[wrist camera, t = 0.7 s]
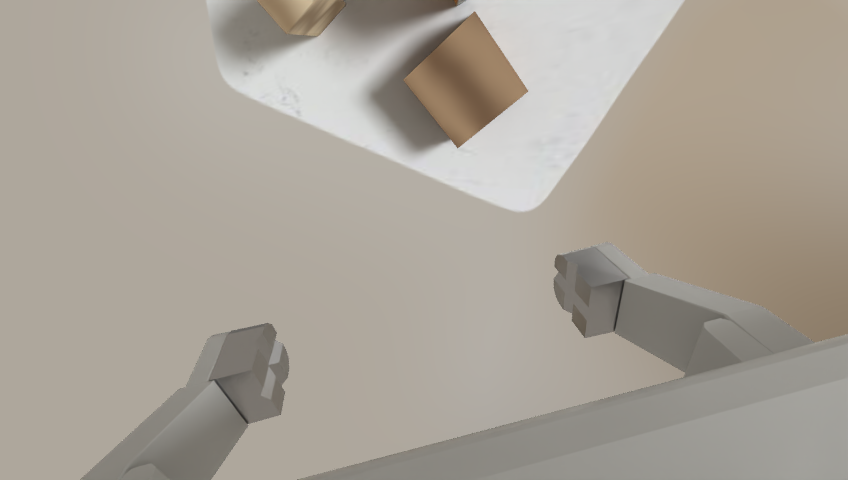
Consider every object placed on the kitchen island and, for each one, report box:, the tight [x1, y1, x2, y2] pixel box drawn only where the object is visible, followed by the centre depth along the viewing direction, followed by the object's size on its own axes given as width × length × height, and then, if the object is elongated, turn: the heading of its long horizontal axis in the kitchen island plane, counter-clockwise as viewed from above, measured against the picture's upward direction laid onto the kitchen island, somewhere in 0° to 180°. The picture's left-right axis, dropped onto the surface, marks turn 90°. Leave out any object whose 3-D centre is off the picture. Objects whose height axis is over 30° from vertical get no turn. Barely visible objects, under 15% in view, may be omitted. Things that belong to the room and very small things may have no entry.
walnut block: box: [403, 11, 528, 148], centre depth 43 cm, size 10×10×6 cm
